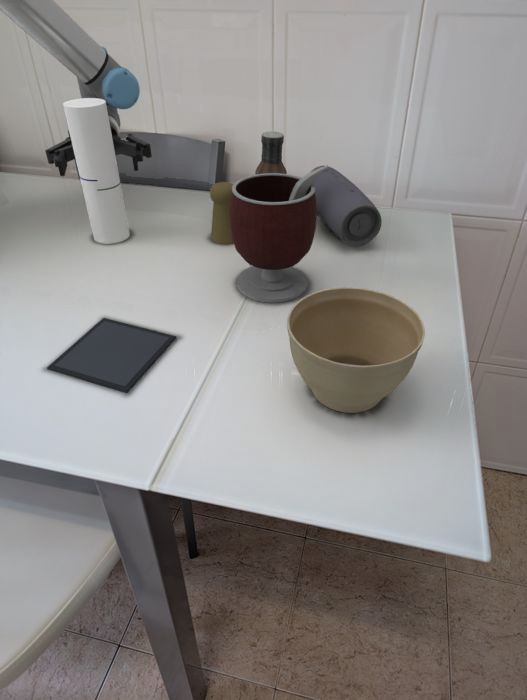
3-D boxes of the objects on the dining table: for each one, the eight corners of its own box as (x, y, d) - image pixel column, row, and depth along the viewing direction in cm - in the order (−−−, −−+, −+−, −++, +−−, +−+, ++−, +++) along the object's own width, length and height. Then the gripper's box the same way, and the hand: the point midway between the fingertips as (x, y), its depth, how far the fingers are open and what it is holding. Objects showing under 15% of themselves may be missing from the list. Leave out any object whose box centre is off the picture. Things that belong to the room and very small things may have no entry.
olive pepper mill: (219, 246, 98) (216, 192, 91) (205, 235, 102) (201, 182, 95) (245, 239, 100) (244, 186, 93) (231, 228, 104) (229, 176, 97)
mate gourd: (237, 308, 81) (232, 187, 68) (228, 267, 91) (223, 156, 79) (329, 300, 82) (341, 181, 70) (310, 261, 93) (318, 151, 81)
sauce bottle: (252, 242, 99) (251, 138, 87) (254, 229, 104) (253, 128, 92) (284, 243, 99) (288, 139, 87) (285, 229, 104) (288, 129, 92)
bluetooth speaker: (380, 249, 97) (388, 200, 91) (335, 255, 95) (341, 204, 89) (338, 205, 114) (343, 161, 108) (300, 209, 112) (302, 164, 106)
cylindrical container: (101, 227, 105) (72, 97, 89) (134, 229, 104) (111, 98, 88) (88, 242, 99) (56, 107, 83) (123, 244, 98) (97, 107, 83)
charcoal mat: (47, 369, 69) (46, 367, 69) (103, 319, 78) (103, 317, 78) (126, 393, 65) (126, 391, 65) (176, 337, 74) (175, 335, 74)
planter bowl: (307, 340, 74) (311, 276, 67) (417, 367, 69) (433, 301, 62) (266, 412, 62) (266, 344, 56) (394, 450, 57) (412, 381, 51)
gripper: (161, 149, 114) (167, 181, 98) (47, 156, 110) (34, 190, 94) (156, 114, 109) (162, 141, 93) (37, 120, 105) (22, 149, 89)
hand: (98, 166), depth 93 cm, fingers open, 13 cm apart
